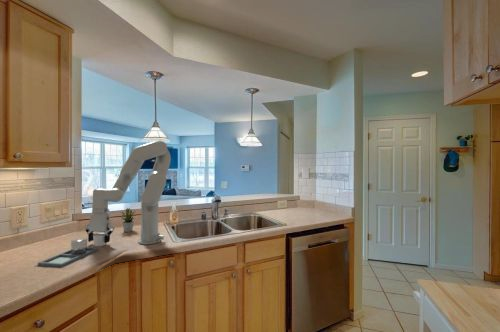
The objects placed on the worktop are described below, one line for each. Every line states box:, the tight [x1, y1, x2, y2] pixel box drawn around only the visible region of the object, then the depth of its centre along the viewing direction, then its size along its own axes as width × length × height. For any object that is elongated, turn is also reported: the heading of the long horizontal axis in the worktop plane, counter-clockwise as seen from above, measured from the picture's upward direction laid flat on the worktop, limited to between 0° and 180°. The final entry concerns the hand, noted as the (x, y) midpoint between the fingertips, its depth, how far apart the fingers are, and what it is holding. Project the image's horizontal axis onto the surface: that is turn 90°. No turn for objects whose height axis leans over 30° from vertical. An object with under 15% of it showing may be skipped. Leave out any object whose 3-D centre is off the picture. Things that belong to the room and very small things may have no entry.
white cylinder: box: [93, 232, 107, 247], centre depth 140 cm, size 7×7×7 cm
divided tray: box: [34, 246, 101, 269], centre depth 121 cm, size 14×24×2 cm, turn 173°
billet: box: [70, 238, 88, 255], centre depth 126 cm, size 7×7×6 cm
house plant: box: [117, 207, 138, 233], centre depth 175 cm, size 14×14×16 cm
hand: (98, 241), depth 140 cm, fingers open, 9 cm apart
